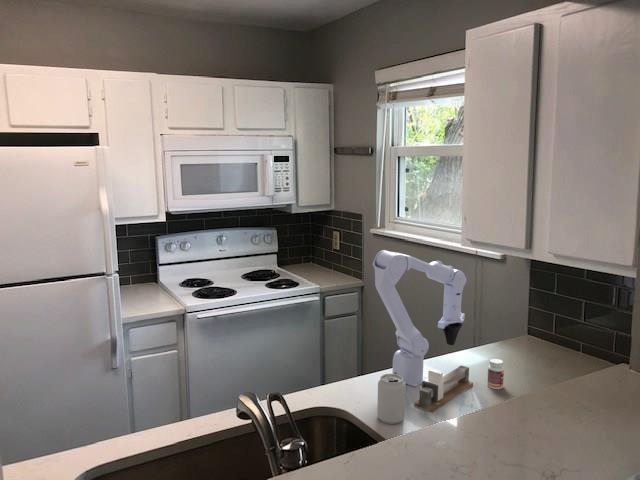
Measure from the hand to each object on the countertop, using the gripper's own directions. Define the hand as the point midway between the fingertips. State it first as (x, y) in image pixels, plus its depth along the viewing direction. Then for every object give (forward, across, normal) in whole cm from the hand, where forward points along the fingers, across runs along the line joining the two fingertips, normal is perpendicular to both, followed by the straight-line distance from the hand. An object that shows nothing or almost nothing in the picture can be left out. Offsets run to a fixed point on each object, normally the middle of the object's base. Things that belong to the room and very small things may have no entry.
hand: (450, 344), depth 177 cm
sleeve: (+8, -24, -8) cm, 26 cm away
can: (+10, -40, -4) cm, 41 cm away
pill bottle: (+10, 0, -16) cm, 19 cm away
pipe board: (+10, -16, -8) cm, 21 cm away
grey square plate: (+8, -26, -8) cm, 28 cm away
